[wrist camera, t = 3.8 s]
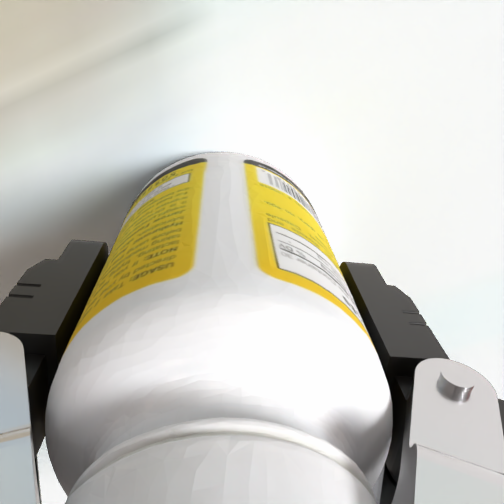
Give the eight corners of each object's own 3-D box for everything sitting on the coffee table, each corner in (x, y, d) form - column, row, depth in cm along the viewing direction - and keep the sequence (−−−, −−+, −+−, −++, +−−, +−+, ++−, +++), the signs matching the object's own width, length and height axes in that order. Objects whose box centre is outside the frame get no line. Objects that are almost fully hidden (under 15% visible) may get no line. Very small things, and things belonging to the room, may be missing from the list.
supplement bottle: (128, 316, 15) (-19, 775, 6) (124, 139, 12) (-138, 468, 3) (304, 325, 15) (411, 764, 6) (333, 156, 13) (574, 487, 4)
